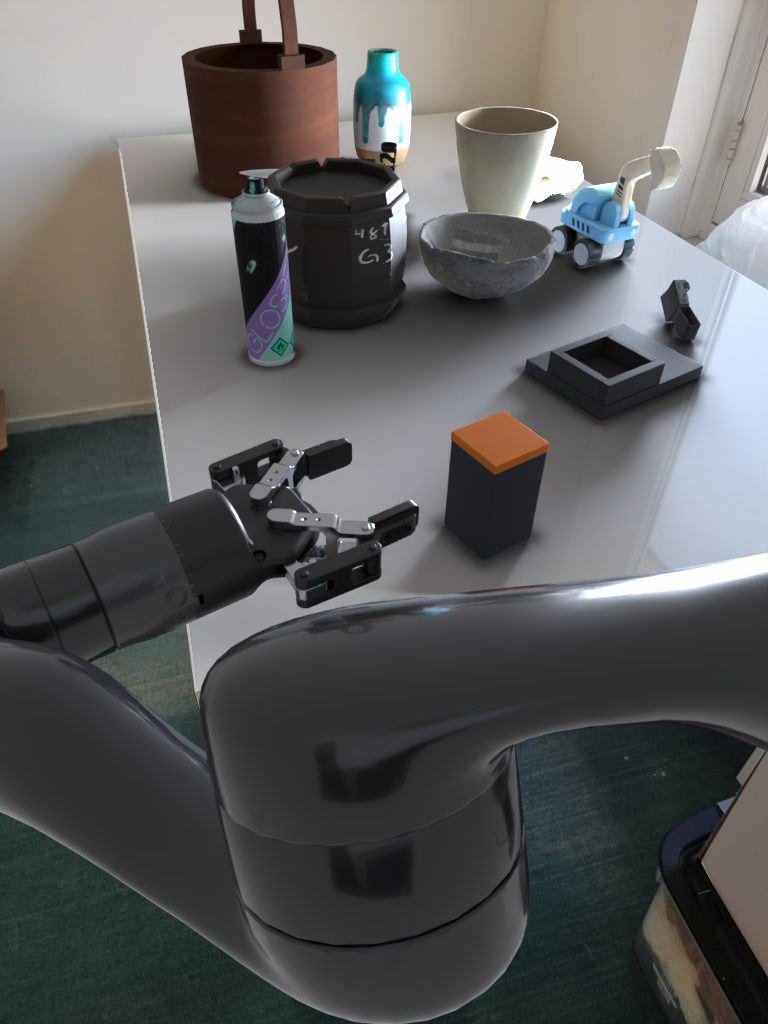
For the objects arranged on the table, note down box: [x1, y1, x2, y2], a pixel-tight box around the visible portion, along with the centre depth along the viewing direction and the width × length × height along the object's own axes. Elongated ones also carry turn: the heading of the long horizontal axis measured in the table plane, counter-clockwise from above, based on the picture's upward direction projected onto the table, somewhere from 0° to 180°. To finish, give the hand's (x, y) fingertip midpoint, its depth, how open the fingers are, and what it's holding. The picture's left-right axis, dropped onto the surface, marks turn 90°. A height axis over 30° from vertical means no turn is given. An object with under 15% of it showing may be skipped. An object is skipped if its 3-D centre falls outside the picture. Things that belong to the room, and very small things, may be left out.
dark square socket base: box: [524, 323, 704, 421], centre depth 84 cm, size 12×16×4 cm
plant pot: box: [454, 106, 559, 219], centre depth 113 cm, size 15×15×16 cm
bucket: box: [181, 0, 341, 199], centre depth 124 cm, size 26×26×35 cm
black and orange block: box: [443, 410, 551, 561], centre depth 61 cm, size 6×6×10 cm
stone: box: [532, 155, 585, 203], centre depth 132 cm, size 21×12×5 cm, turn 5°
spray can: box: [230, 177, 296, 367], centre depth 81 cm, size 6×6×20 cm
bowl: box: [418, 211, 556, 300], centre depth 99 cm, size 18×18×8 cm
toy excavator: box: [551, 145, 682, 269], centre depth 102 cm, size 9×17×17 cm, turn 28°
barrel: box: [266, 157, 410, 329], centre depth 93 cm, size 18×18×16 cm
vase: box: [352, 47, 412, 168], centre depth 134 cm, size 11×11×19 cm
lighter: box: [659, 279, 702, 342], centre depth 92 cm, size 8×2×5 cm
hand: (381, 480), depth 53 cm, fingers open, 8 cm apart
